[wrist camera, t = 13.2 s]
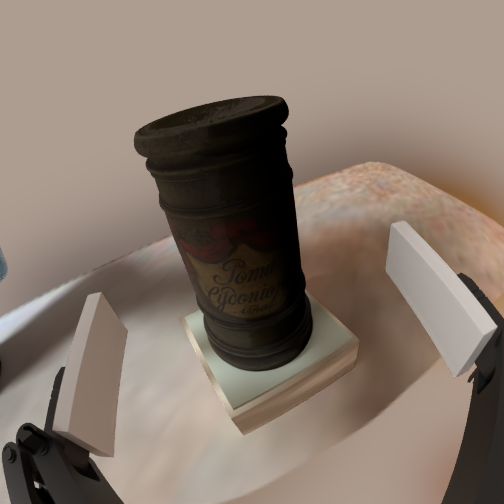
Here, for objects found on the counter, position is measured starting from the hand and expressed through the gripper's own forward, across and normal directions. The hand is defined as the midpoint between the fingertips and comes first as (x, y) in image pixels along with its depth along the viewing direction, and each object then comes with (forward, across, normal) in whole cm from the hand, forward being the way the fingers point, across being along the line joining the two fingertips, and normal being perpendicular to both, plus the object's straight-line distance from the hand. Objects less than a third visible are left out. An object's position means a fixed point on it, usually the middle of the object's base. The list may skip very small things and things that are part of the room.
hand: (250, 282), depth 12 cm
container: (+7, 0, -12) cm, 14 cm away
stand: (+7, 0, -17) cm, 18 cm away
